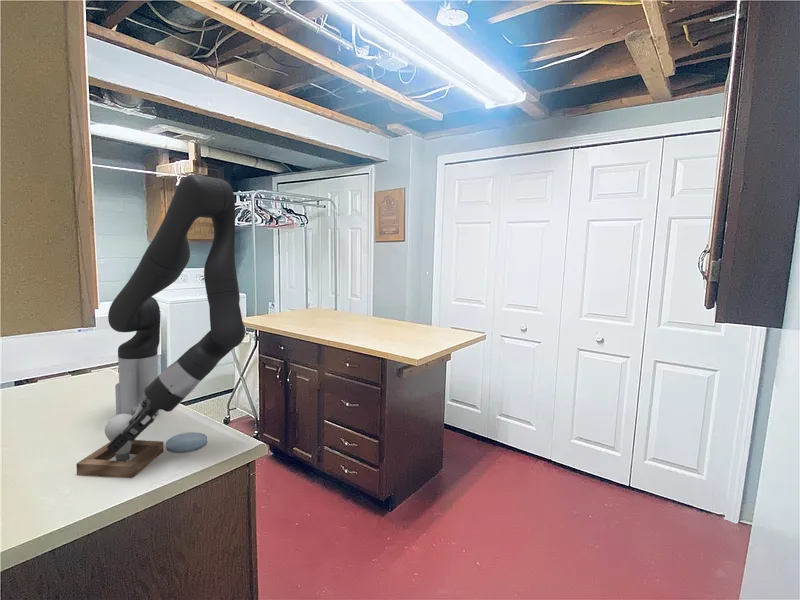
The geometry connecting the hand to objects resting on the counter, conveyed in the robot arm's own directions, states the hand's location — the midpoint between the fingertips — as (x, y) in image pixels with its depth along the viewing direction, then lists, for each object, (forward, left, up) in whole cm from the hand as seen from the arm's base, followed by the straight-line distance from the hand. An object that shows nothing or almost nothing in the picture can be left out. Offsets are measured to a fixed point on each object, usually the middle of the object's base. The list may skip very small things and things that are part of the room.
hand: (114, 441), depth 93 cm
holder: (+1, +1, -5) cm, 5 cm away
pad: (+10, +11, -5) cm, 16 cm away
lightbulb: (+1, +1, -5) cm, 5 cm away
